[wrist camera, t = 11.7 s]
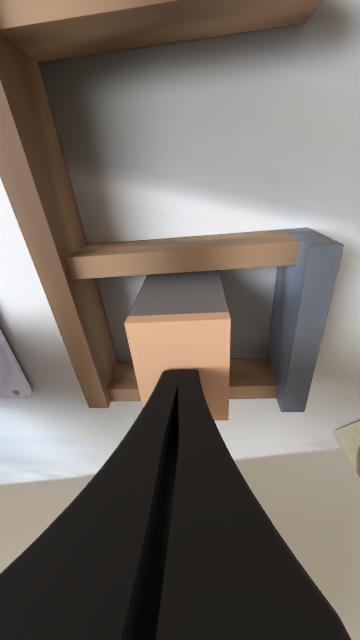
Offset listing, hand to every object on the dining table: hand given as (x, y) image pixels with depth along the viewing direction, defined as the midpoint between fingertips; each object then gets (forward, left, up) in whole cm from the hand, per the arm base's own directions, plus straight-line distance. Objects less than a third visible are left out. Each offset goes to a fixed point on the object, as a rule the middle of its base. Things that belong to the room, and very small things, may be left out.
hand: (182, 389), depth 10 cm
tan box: (0, +1, -6) cm, 6 cm away
